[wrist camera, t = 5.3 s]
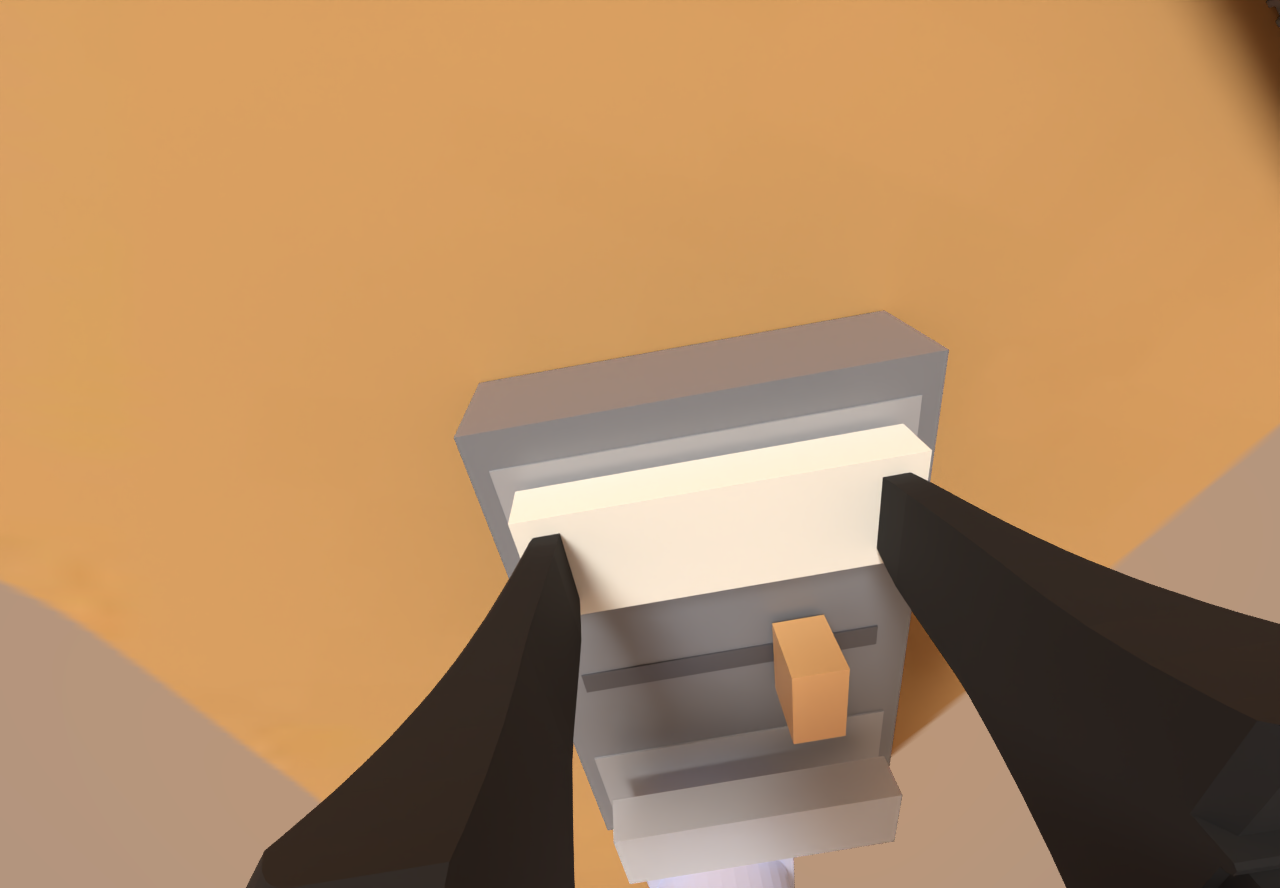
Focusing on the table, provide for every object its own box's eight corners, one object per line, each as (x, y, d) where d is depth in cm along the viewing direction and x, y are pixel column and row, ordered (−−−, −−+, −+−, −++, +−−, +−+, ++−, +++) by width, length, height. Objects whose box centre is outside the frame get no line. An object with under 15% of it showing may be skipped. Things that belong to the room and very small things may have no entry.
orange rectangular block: (822, 679, 17) (845, 735, 15) (775, 687, 17) (793, 744, 15) (823, 614, 15) (850, 668, 14) (771, 623, 15) (791, 678, 14)
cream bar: (892, 525, 14) (916, 557, 13) (547, 584, 14) (543, 621, 13) (903, 423, 12) (931, 450, 11) (515, 491, 12) (507, 524, 11)
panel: (854, 712, 23) (887, 786, 21) (606, 753, 23) (608, 831, 21) (884, 310, 14) (949, 350, 12) (479, 382, 14) (453, 438, 12)
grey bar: (877, 802, 19) (894, 841, 18) (628, 843, 19) (629, 883, 18) (884, 756, 17) (902, 795, 16) (612, 800, 18) (613, 842, 17)
